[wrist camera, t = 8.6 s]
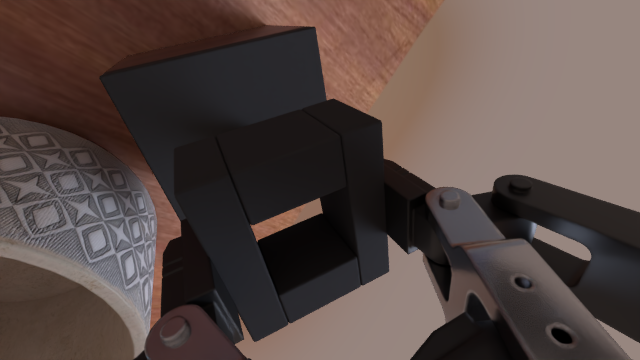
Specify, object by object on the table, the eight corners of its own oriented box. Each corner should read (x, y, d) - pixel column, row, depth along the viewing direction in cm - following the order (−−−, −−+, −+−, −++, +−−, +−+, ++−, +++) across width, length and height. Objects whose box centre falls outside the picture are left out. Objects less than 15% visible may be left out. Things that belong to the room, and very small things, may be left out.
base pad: (103, 72, 13) (82, 87, 10) (307, 26, 15) (338, 26, 12) (193, 234, 18) (197, 276, 15) (332, 179, 21) (359, 205, 18)
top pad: (172, 147, 9) (172, 194, 6) (333, 97, 10) (382, 120, 8) (238, 281, 12) (254, 343, 10) (351, 228, 14) (389, 272, 11)
